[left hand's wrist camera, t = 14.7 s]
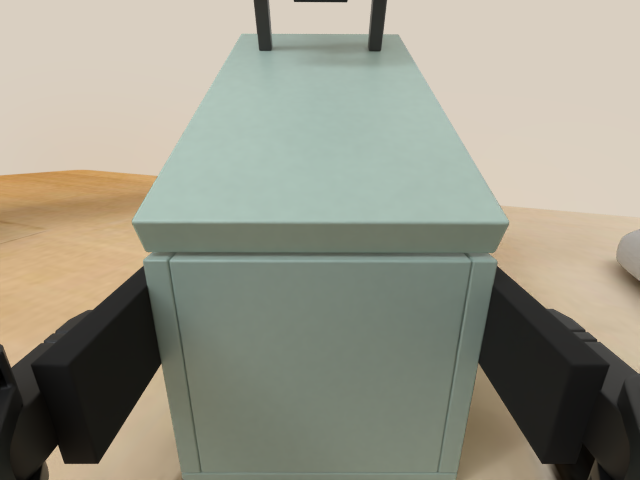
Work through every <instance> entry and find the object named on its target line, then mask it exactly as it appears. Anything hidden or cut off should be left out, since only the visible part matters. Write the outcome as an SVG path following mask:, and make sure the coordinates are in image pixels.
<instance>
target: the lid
mask: <svg viewBox="0 0 640 480" xmlns="http://www.w3.org/2000/svg"><path fill="white" fill-rule="evenodd" d="M386 4H387V0H372V5H371V16H370V27H369V34H272V33H271V21H270V9H269V0H254V7H255V16H256V26H257V34H241V36H240V37H239V39H238V41H237V43H236V44H235V46H234V48H233V49H232V51H231V53H230V54H229V56H228V58H227V60H226V61H225V63H224V65H223V66H222V68H221V70H220V72H219V73H218V75H217V77H216V78H215V80H214V82H213V83H212V85H211V87H210V89H209V90H208V92H207V94H206V95H205V97H204V99H203V101H202V102H201V104H200V105H199V107H198V109H197V111H196V112H195V114H194V116H193V117H192V119H191V121H190V123H189V124H188V126H187V128H186V129H185V131H184V133H183V134H182V136H181V138H180V140H179V141H178V143H177V145H176V146H175V148H174V150H173V151H172V153H171V155H170V156H169V158H168V160H167V162H166V163H165V165H164V167H163V168H162V170H161V172H160V174H159V175H158V177H157V179H156V180H155V182H154V184H153V185H152V187H151V189H150V190H149V192H148V194H147V196H146V197H145V199H144V201H143V202H142V204H141V206H140V207H139V209H138V211H137V213H136V214H135V216H134V218H133V219H132V224H133V226H134V229H135V231H136V233H137V235H138V237H139V239H140V241H141V243H142V245H143V247H144V249H145V251H146V252H343V253H494V252H495V251H496V249H497V247H498V245H499V243H500V241H501V239H502V237H503V235H504V233H505V231H506V229H507V227H508V225H509V220H508V219H507V217H506V215H505V214H504V212H503V210H502V209H501V207H500V205H499V203H498V202H497V200H496V198H495V197H494V195H493V193H492V192H491V190H490V188H489V187H488V185H487V183H486V182H485V180H484V178H483V176H482V175H481V173H480V171H479V170H478V168H477V166H476V165H475V163H474V161H473V160H472V158H471V156H470V155H469V153H468V151H467V149H466V148H465V146H464V144H463V143H462V141H461V139H460V138H459V136H458V134H457V133H456V131H455V129H454V128H453V126H452V124H451V122H450V121H449V119H448V118H447V116H446V114H445V112H444V111H443V109H442V107H441V106H440V104H439V102H438V101H437V99H436V97H435V96H434V94H433V92H432V90H431V89H430V87H429V85H428V84H427V82H426V80H425V79H424V77H423V75H422V74H421V72H420V70H419V69H418V67H417V65H416V64H415V62H414V60H413V58H412V57H411V55H410V53H409V52H408V50H407V48H406V47H405V45H404V43H403V42H402V40H401V38H400V37H399V35H388V34H387V35H386V34H385V35H384V34H383V30H384V21H385V13H386Z"/></svg>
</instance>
